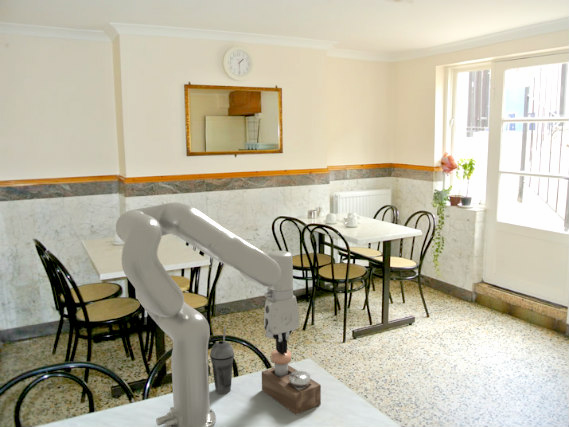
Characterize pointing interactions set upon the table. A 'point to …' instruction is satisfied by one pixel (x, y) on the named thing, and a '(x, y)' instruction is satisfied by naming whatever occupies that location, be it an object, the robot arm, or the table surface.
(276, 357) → the peach domed piece
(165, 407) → the table surface
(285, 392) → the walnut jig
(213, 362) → the beverage cup
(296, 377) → the steel plug
